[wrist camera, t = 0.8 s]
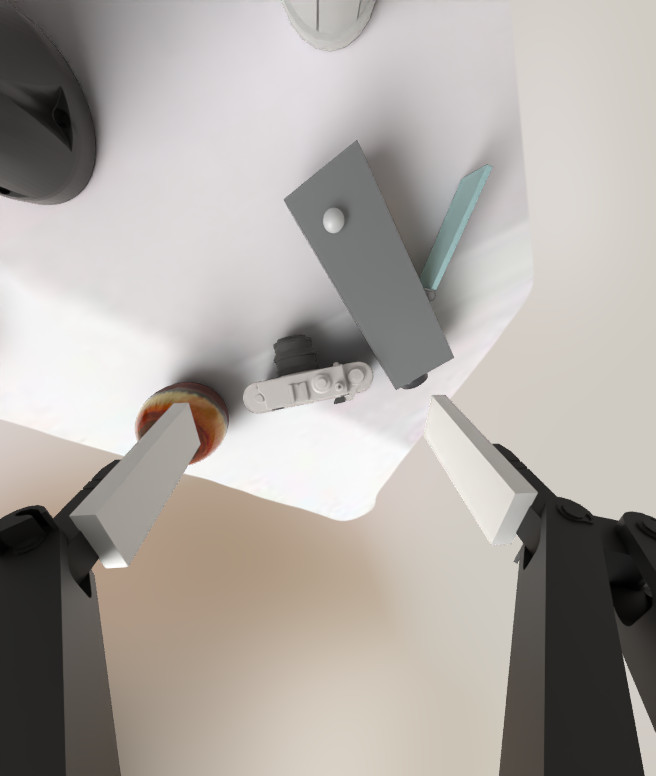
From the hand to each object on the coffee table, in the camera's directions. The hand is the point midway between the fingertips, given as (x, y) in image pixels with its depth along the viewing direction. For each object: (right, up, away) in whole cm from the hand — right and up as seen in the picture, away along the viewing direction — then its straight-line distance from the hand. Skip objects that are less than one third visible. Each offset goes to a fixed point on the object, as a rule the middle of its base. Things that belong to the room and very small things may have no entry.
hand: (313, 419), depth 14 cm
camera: (-2, +6, +24) cm, 24 cm away
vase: (-19, -1, +26) cm, 32 cm away
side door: (+14, +19, +17) cm, 29 cm away
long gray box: (+6, +15, +19) cm, 25 cm away
